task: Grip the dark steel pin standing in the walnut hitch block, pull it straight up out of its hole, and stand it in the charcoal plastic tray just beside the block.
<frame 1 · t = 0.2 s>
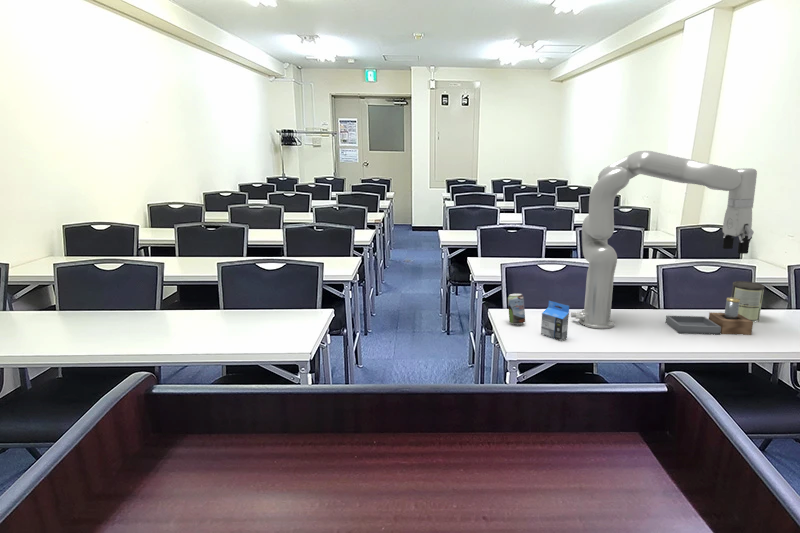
hand: (734, 250, 173), 30 cm above the table, tool pointing down, fingers open, 9 cm apart
coffee can: (743, 318, 190), on the table
hitch block: (728, 329, 177), on the table
tray: (691, 328, 179), on the table
beverage can: (515, 324, 186), on the table
steel pin: (731, 314, 176), in the hitch block
label tape cartridge: (553, 337, 172), on the table
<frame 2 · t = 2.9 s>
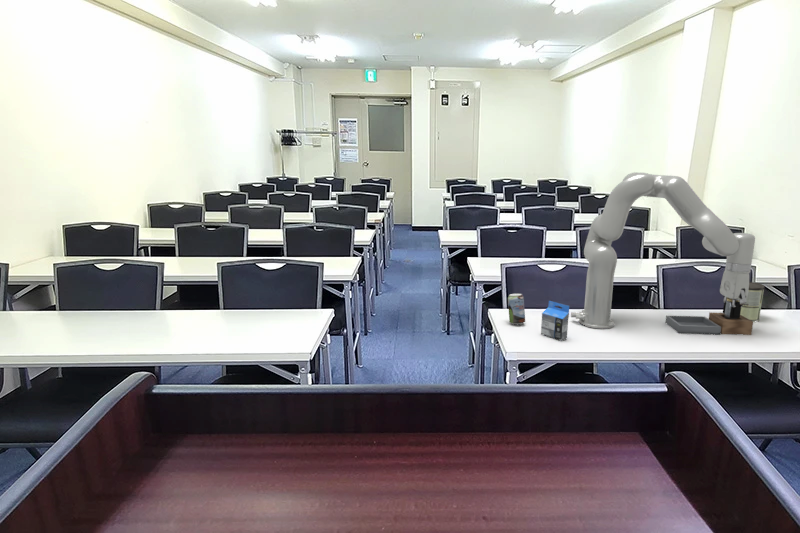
hand: (731, 314, 176), 6 cm above the table, tool pointing down, fingers closed on steel pin, 4 cm apart
steel pin: (731, 314, 176), in the hitch block, touching gripper
everything else where it was.
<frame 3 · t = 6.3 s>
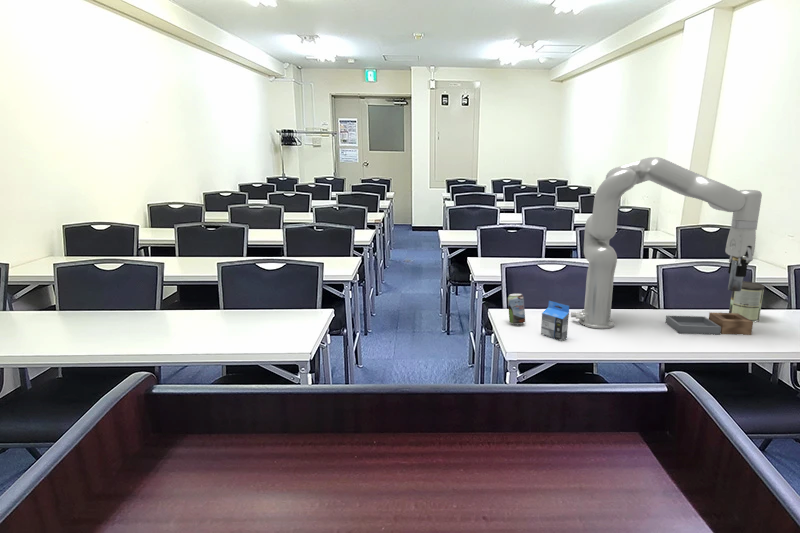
hand: (736, 274, 173), 21 cm above the table, tool pointing down, fingers closed on steel pin, 4 cm apart
steel pin: (736, 274, 173), point 21 cm above the table, touching gripper
everything else where it was.
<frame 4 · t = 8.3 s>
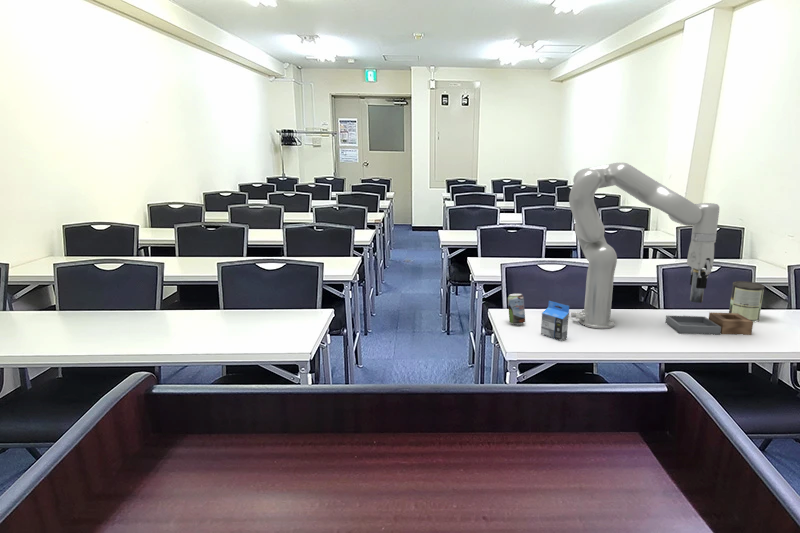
hand: (697, 286, 175), 17 cm above the table, tool pointing down, fingers closed on steel pin, 4 cm apart
steel pin: (697, 285, 175), point 17 cm above the table, touching gripper
everything else where it was.
when the fingers open (9 cm above the table, at t = 10.0 s): steel pin drops 2 cm, resting on tray.
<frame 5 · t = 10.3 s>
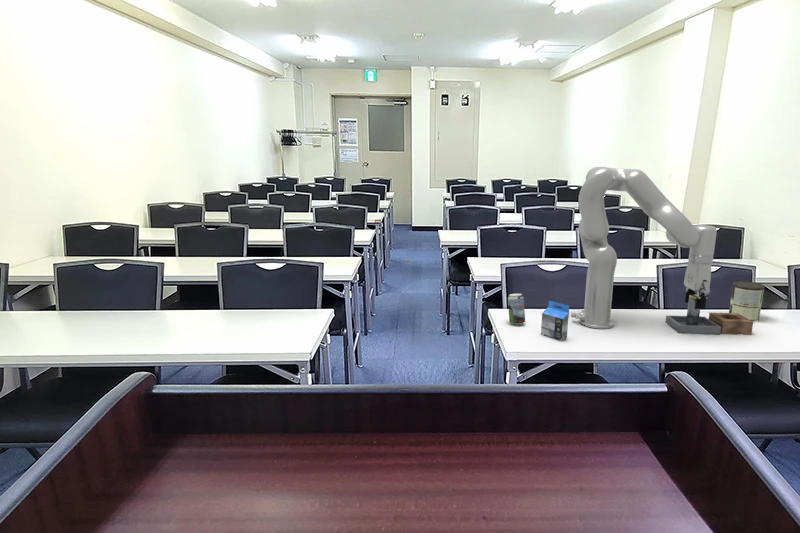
hand: (694, 305, 177), 9 cm above the table, tool pointing down, fingers open, 7 cm apart
steel pin: (693, 311, 178), in the tray, point 7 cm above the table
everything else where it was.
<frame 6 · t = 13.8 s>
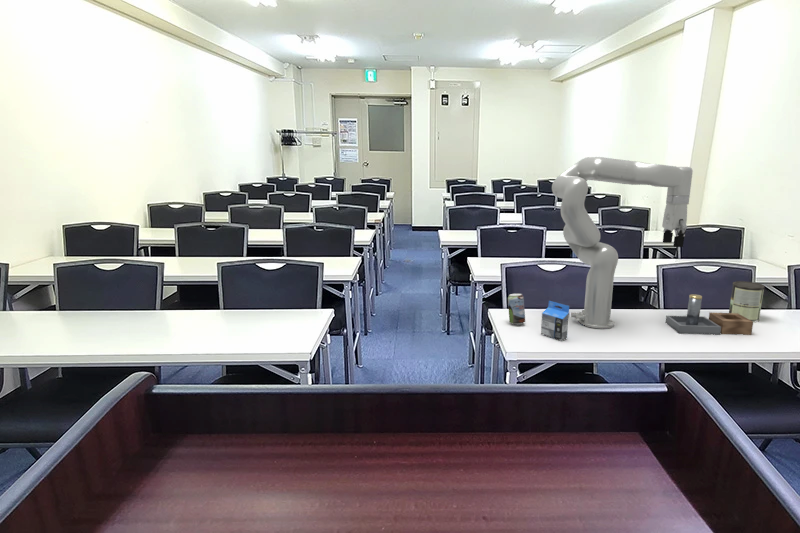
hand: (672, 244, 183), 30 cm above the table, tool pointing down, fingers open, 9 cm apart
nothing on the table moved.
at the end: steel pin inside the target area on the tray (0.1 cm from its centre), point 6.8 cm above the tray's base; steel pin touching tray; the gripper is holding nothing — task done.
